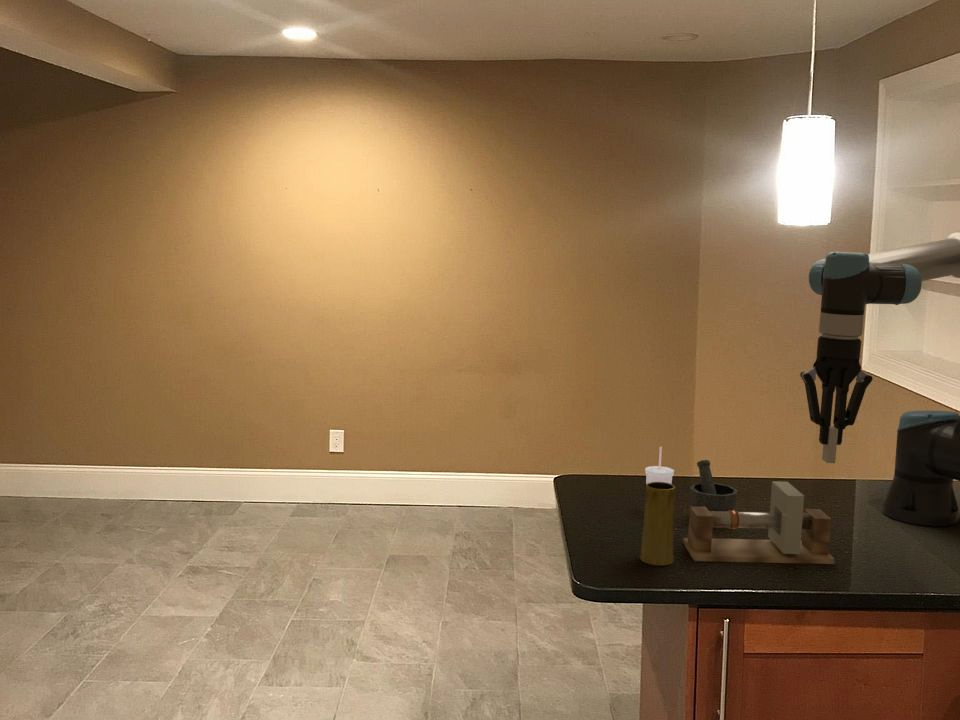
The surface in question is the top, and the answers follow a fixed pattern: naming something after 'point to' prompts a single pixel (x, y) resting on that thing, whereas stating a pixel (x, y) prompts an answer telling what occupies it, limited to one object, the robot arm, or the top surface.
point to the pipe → (753, 519)
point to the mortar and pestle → (711, 491)
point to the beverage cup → (659, 472)
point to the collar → (787, 517)
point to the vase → (658, 524)
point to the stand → (756, 542)
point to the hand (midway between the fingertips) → (828, 461)
